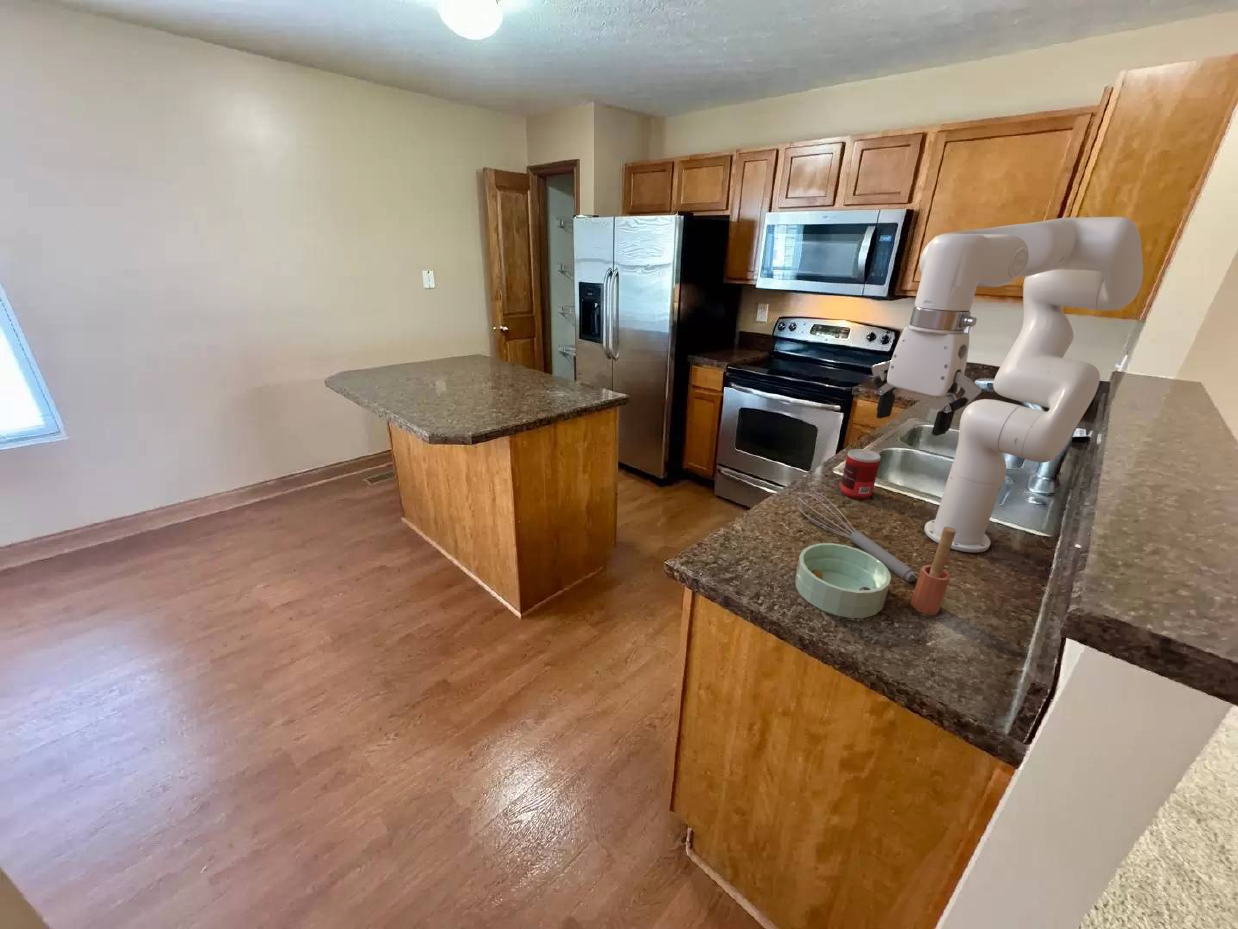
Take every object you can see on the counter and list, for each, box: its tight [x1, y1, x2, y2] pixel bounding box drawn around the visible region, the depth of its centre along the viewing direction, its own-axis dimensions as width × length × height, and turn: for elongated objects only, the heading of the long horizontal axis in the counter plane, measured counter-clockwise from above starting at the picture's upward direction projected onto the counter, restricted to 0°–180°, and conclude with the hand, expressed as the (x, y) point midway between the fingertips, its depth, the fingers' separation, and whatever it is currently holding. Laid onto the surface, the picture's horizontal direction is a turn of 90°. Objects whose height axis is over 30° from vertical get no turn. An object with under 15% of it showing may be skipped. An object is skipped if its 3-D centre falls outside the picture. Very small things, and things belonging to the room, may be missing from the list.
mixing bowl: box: [794, 542, 892, 619], centre depth 95 cm, size 15×15×6 cm
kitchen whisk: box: [797, 491, 918, 583], centre depth 110 cm, size 6×34×6 cm, turn 23°
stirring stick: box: [929, 527, 956, 578], centre depth 89 cm, size 2×2×16 cm
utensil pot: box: [910, 564, 952, 616], centre depth 90 cm, size 4×4×8 cm
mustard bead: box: [811, 569, 823, 579], centre depth 98 cm, size 2×2×2 cm
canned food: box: [840, 448, 882, 500], centre depth 132 cm, size 8×8×11 cm
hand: (909, 425), depth 86 cm, fingers open, 9 cm apart
